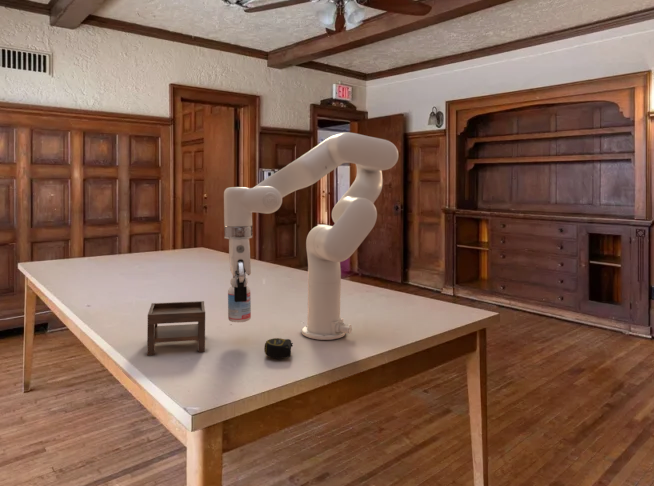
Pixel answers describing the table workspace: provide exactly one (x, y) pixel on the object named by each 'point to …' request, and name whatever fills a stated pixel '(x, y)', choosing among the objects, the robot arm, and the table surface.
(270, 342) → the tape measure
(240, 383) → the table surface
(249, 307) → the pill bottle
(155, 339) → the rack
